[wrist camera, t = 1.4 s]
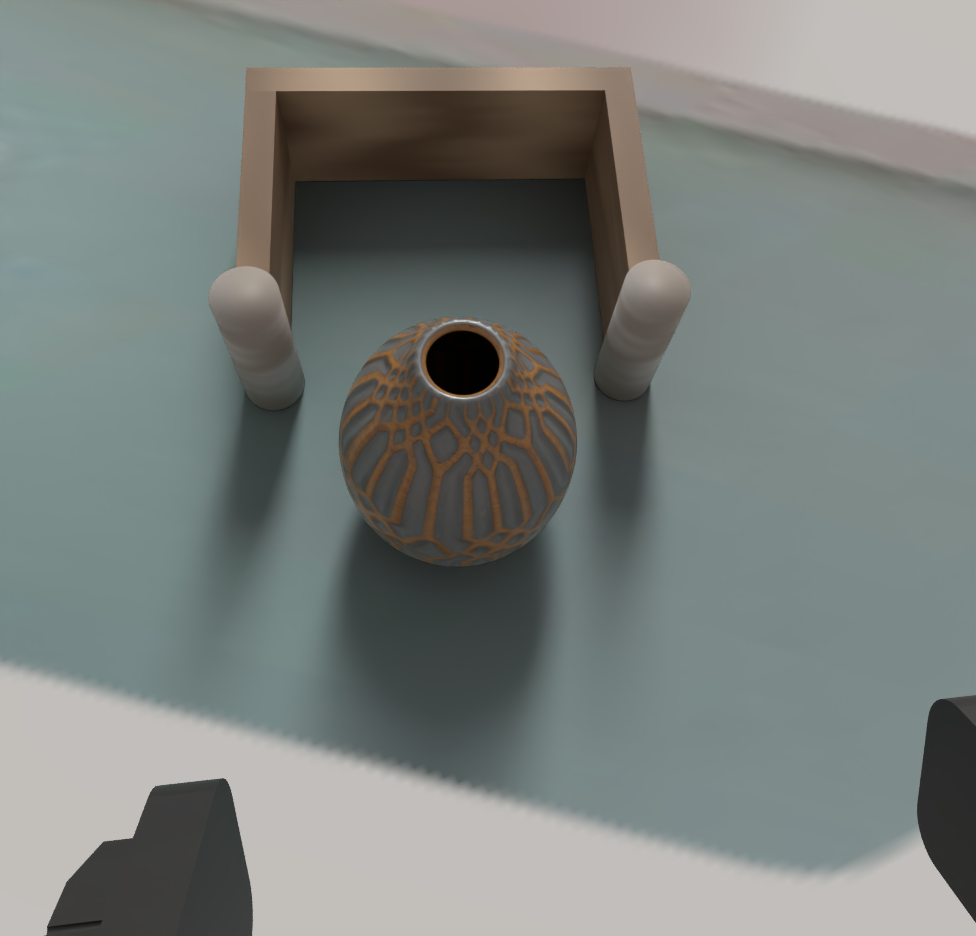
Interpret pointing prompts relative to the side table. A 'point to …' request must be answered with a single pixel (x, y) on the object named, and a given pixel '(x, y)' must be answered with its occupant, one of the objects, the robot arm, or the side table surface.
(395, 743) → the side table surface
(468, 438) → the vase
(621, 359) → the housing
